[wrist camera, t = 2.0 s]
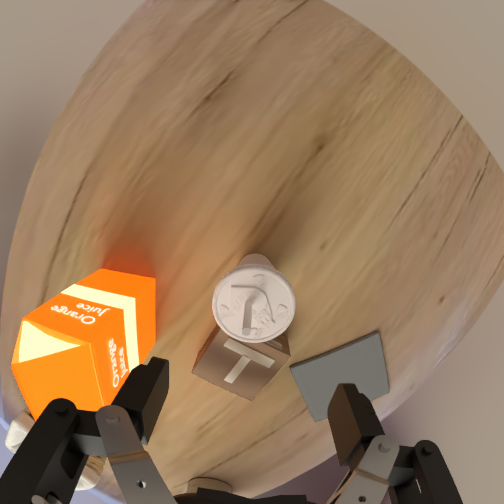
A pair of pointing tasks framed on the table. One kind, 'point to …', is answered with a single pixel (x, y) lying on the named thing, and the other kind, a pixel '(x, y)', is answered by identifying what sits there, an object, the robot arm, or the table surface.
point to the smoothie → (253, 301)
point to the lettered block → (240, 362)
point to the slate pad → (342, 373)
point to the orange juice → (85, 341)
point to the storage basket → (21, 429)
